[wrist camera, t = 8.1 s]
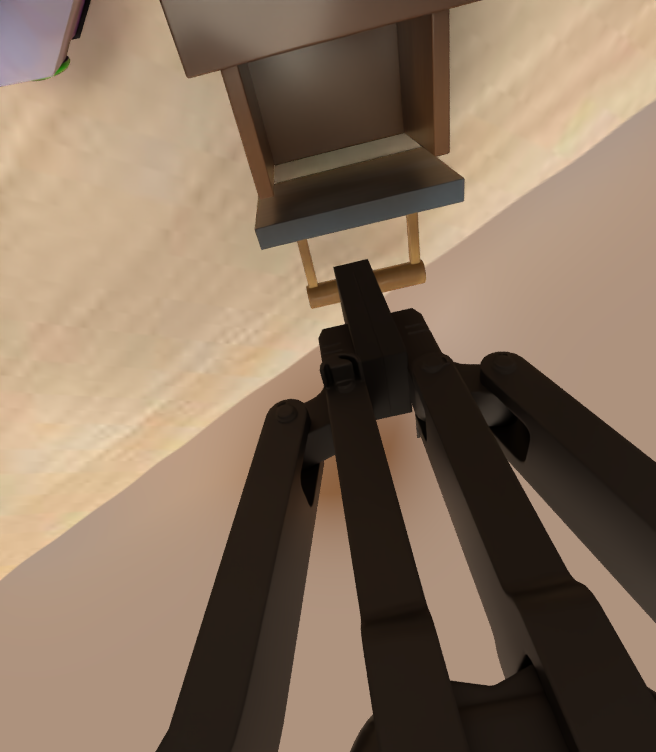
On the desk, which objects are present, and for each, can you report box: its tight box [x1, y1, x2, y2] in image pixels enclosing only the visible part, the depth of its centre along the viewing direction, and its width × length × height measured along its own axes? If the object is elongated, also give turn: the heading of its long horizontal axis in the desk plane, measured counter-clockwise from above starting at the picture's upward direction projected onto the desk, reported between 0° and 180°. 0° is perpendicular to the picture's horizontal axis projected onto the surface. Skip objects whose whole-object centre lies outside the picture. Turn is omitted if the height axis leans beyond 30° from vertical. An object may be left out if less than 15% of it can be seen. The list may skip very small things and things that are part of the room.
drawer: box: [221, 9, 465, 309], centre depth 23 cm, size 20×11×8 cm, turn 11°
